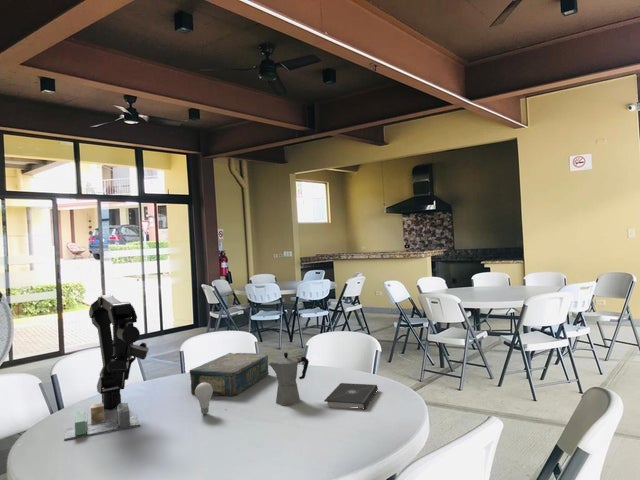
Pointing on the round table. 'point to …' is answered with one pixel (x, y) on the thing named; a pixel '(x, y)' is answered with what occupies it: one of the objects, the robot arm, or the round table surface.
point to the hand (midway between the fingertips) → (123, 383)
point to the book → (351, 395)
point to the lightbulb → (204, 396)
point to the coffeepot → (288, 378)
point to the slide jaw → (81, 423)
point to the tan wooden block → (97, 412)
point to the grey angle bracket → (108, 424)
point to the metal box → (231, 373)
